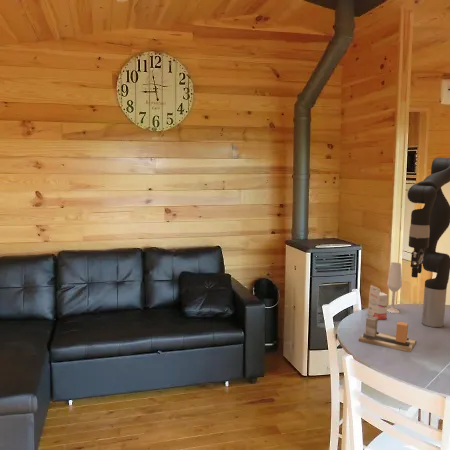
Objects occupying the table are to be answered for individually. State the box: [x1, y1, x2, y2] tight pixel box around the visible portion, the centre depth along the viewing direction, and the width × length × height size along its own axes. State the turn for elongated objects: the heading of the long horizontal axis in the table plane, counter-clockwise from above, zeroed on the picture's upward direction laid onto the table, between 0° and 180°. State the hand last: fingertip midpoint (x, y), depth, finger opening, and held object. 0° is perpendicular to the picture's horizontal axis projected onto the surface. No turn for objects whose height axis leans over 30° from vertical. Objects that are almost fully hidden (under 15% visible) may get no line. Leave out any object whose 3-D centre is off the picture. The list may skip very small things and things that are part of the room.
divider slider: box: [395, 321, 409, 343], centre depth 194 cm, size 9×4×8 cm, turn 149°
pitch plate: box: [358, 315, 417, 353], centre depth 198 cm, size 12×20×10 cm, turn 58°
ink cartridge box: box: [367, 284, 389, 320], centre depth 230 cm, size 9×5×15 cm, turn 17°
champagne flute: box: [386, 261, 402, 314], centre depth 239 cm, size 7×7×24 cm
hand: (416, 275), depth 196 cm, fingers open, 8 cm apart
